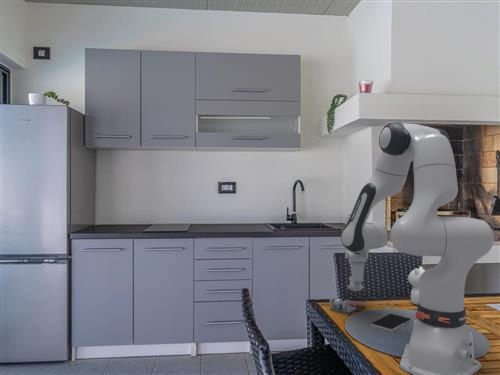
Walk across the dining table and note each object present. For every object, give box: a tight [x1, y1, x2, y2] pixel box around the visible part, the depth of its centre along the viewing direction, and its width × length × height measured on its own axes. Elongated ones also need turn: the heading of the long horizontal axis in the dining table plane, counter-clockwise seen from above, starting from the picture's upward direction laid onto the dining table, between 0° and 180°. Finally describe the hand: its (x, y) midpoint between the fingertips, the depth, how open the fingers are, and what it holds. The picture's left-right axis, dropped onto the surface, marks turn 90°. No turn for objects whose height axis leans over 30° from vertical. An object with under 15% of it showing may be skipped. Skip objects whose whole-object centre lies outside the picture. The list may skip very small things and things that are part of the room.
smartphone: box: [371, 313, 412, 332], centre depth 127 cm, size 8×1×15 cm
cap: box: [347, 276, 364, 292], centre depth 145 cm, size 6×5×5 cm
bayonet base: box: [329, 297, 366, 316], centre depth 143 cm, size 14×10×4 cm
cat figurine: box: [407, 265, 426, 306], centre depth 147 cm, size 9×12×15 cm
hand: (357, 288), depth 145 cm, fingers closed on cap, 4 cm apart
